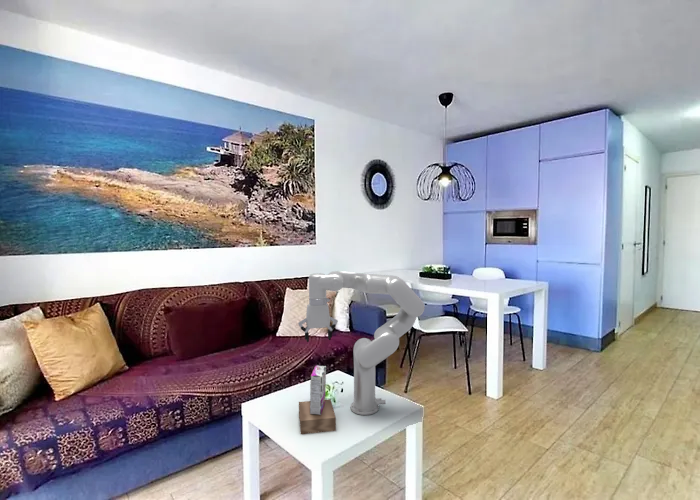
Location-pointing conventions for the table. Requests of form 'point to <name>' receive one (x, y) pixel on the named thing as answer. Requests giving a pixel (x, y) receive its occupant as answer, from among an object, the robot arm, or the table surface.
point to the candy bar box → (317, 390)
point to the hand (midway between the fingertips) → (318, 340)
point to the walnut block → (316, 418)
